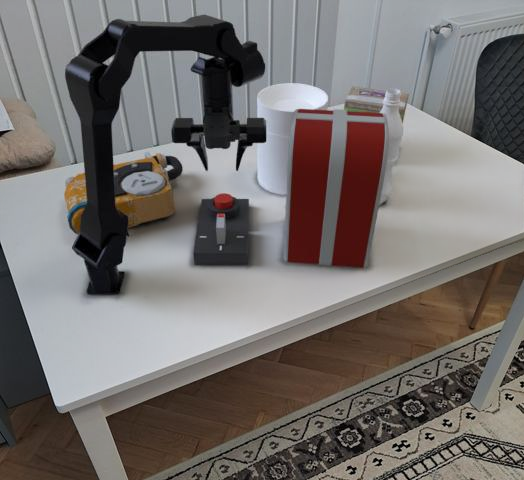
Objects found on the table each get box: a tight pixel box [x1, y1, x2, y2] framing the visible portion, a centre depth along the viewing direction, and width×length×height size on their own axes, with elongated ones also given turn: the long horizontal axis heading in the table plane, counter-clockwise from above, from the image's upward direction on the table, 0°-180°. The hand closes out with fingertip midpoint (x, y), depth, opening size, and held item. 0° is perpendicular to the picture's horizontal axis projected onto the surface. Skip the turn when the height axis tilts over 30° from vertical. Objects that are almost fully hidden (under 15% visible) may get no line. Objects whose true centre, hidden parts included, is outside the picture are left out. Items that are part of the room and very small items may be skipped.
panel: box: [192, 222, 249, 266], centre depth 111 cm, size 11×11×3 cm
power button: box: [214, 192, 234, 209], centre depth 116 cm, size 4×4×2 cm
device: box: [63, 151, 184, 235], centre depth 121 cm, size 23×8×30 cm
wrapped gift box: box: [283, 108, 389, 269], centre depth 104 cm, size 16×18×27 cm
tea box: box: [343, 86, 410, 124], centre depth 136 cm, size 15×10×15 cm
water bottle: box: [379, 87, 404, 206], centre depth 116 cm, size 7×7×25 cm
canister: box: [256, 82, 329, 196], centre depth 125 cm, size 16×16×20 cm
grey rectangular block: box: [216, 214, 226, 244], centre depth 108 cm, size 5×2×4 cm, turn 1°
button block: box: [197, 196, 250, 232], centre depth 118 cm, size 10×11×4 cm
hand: (222, 170), depth 111 cm, fingers open, 6 cm apart
